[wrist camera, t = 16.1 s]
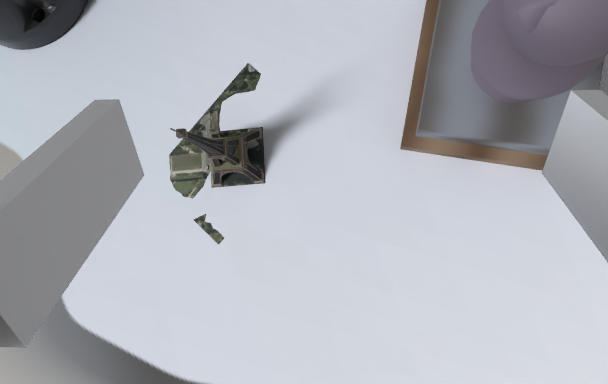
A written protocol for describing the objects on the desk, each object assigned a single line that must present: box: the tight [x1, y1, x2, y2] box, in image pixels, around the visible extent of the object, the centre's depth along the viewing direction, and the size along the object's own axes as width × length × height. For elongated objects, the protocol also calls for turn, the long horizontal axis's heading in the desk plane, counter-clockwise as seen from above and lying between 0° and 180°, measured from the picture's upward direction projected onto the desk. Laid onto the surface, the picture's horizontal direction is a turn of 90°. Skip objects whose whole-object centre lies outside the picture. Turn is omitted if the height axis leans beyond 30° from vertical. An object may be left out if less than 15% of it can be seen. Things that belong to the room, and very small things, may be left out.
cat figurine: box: [471, 0, 608, 103], centre depth 25 cm, size 8×8×12 cm
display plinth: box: [400, 0, 604, 170], centre depth 33 cm, size 14×14×4 cm
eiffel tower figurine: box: [170, 64, 265, 244], centre depth 33 cm, size 15×10×13 cm
